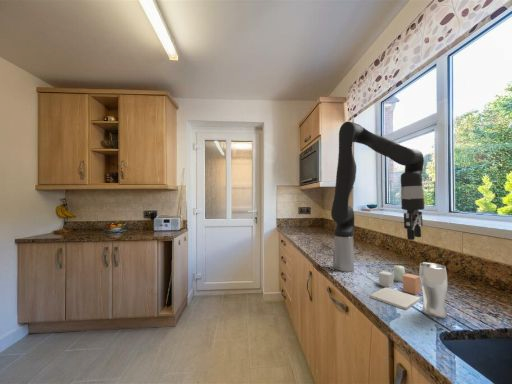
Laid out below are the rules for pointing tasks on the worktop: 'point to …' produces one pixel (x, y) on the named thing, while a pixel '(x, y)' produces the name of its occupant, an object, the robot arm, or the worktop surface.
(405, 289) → the terracotta block
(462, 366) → the worktop surface
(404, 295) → the cream pad
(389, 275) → the grey block
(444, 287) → the beer glass
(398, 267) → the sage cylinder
